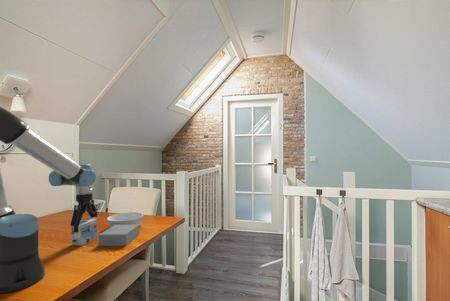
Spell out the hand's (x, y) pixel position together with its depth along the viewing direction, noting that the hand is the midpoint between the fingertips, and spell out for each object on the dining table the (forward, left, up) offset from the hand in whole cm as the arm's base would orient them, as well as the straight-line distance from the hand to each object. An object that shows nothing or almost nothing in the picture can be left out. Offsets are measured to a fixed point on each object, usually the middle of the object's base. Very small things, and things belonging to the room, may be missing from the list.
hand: (85, 233), depth 123 cm
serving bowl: (+23, -12, -4) cm, 26 cm away
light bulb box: (0, 0, -4) cm, 4 cm away
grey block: (+1, -18, -5) cm, 18 cm away
